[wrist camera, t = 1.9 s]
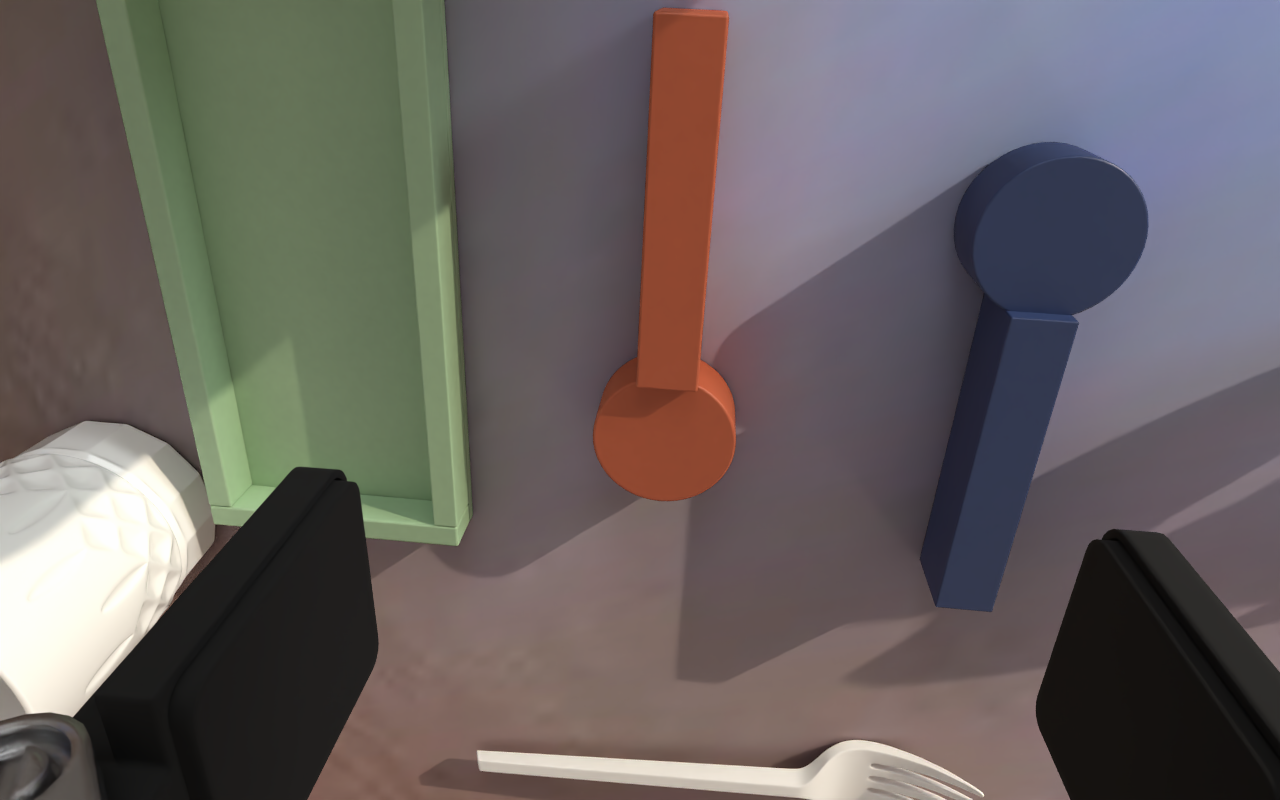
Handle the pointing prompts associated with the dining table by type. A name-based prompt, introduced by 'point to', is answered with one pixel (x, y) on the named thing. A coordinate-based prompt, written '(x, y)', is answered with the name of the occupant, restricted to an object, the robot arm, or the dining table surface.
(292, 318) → the tray
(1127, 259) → the blue spoon
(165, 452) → the white cup
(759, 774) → the fork
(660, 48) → the terracotta spoon
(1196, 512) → the dining table surface
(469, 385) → the dining table surface
